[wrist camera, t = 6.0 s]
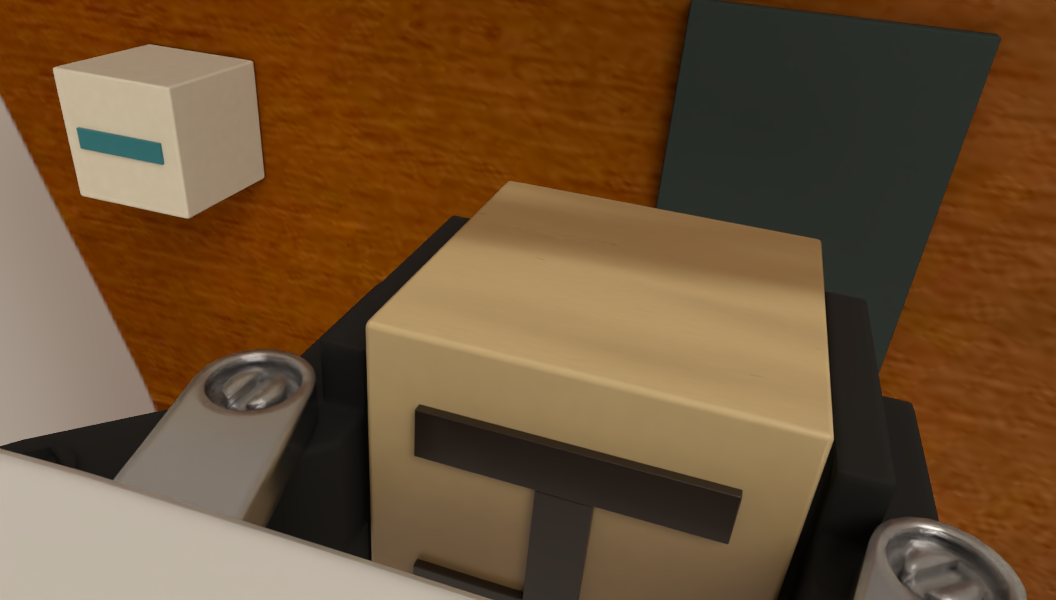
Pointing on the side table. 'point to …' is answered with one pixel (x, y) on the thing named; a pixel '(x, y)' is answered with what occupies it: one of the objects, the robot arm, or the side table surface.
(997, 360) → the side table surface
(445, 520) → the letter h
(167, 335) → the side table surface
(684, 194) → the word mat
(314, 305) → the side table surface
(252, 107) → the letter i
